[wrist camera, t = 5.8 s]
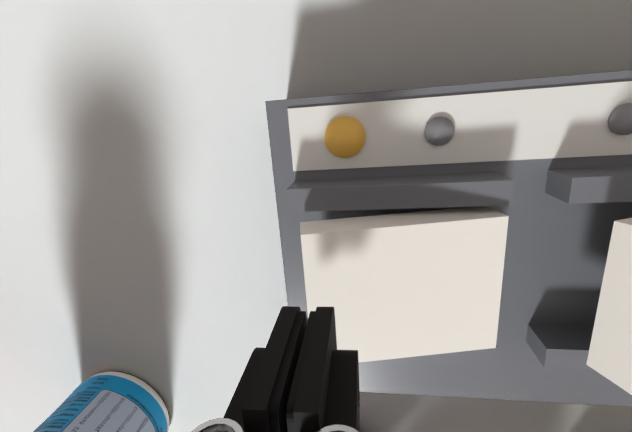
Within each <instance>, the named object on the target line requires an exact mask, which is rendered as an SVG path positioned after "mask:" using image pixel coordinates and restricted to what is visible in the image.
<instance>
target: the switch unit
mask: <svg viewBox="0 0 632 432" xmlns="http://www.w3.org/2000/svg"><path fill="white" fill-rule="evenodd" d="M265 102H266V111H267V120H268V129H269V138H270V147H271V156H272V165H273V174H274V183H275V192H276V201H277V211H278V220H279V229H280V238H281V247H282V256H283V265H284V274H285V283H286V292H287V301H288V306H292V307H300V309H301V311H306V314H307V322H308V311H307V300H306V289H305V278H304V268H303V257H302V246H301V235H300V222H307V221H318V220H330V219H341V218H352V217H363V216H375V215H386V214H397V213H408V212H420V211H431V210H442V209H453V208H465V207H476V206H488V207H490V208H492V209H494V210H496V211H499V212H501V213H503V214H505V215H507V216H509V218H508V229H507V239H506V249H505V259H504V270H503V280H502V290H501V300H500V310H499V321H498V331H497V341H496V348H491V349H481V350H472V351H463V352H453V353H444V354H434V355H425V356H416V357H406V358H397V359H388V360H378V361H369V362H359V392H374V393H391V394H409V395H427V396H445V397H463V398H480V399H498V400H516V401H534V402H551V403H569V404H587V405H605V406H622V407H632V395H631V394H629V393H628V392H626V391H625V390H623V389H622V388H620V387H619V386H617V385H616V384H614V383H613V382H612V381H610V380H609V379H607V378H606V377H604V376H603V375H601V374H600V373H598V372H597V371H595V370H594V369H592V368H591V367H589V366H588V365H586V364H587V359H588V353H589V348H590V343H591V338H592V333H593V328H594V322H595V317H596V312H597V307H598V302H599V297H600V291H601V286H602V281H603V276H604V271H605V266H606V260H607V255H608V250H609V245H610V240H611V235H612V229H613V224H614V221H616V220H621V219H627V218H632V70H627V71H615V72H603V73H591V74H579V75H568V76H556V77H544V78H532V79H521V80H509V81H497V82H485V83H474V84H462V85H450V86H438V87H427V88H415V89H403V90H391V91H380V92H368V93H356V94H344V95H333V96H321V97H309V98H297V99H286V100H274V101H265Z"/></svg>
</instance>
